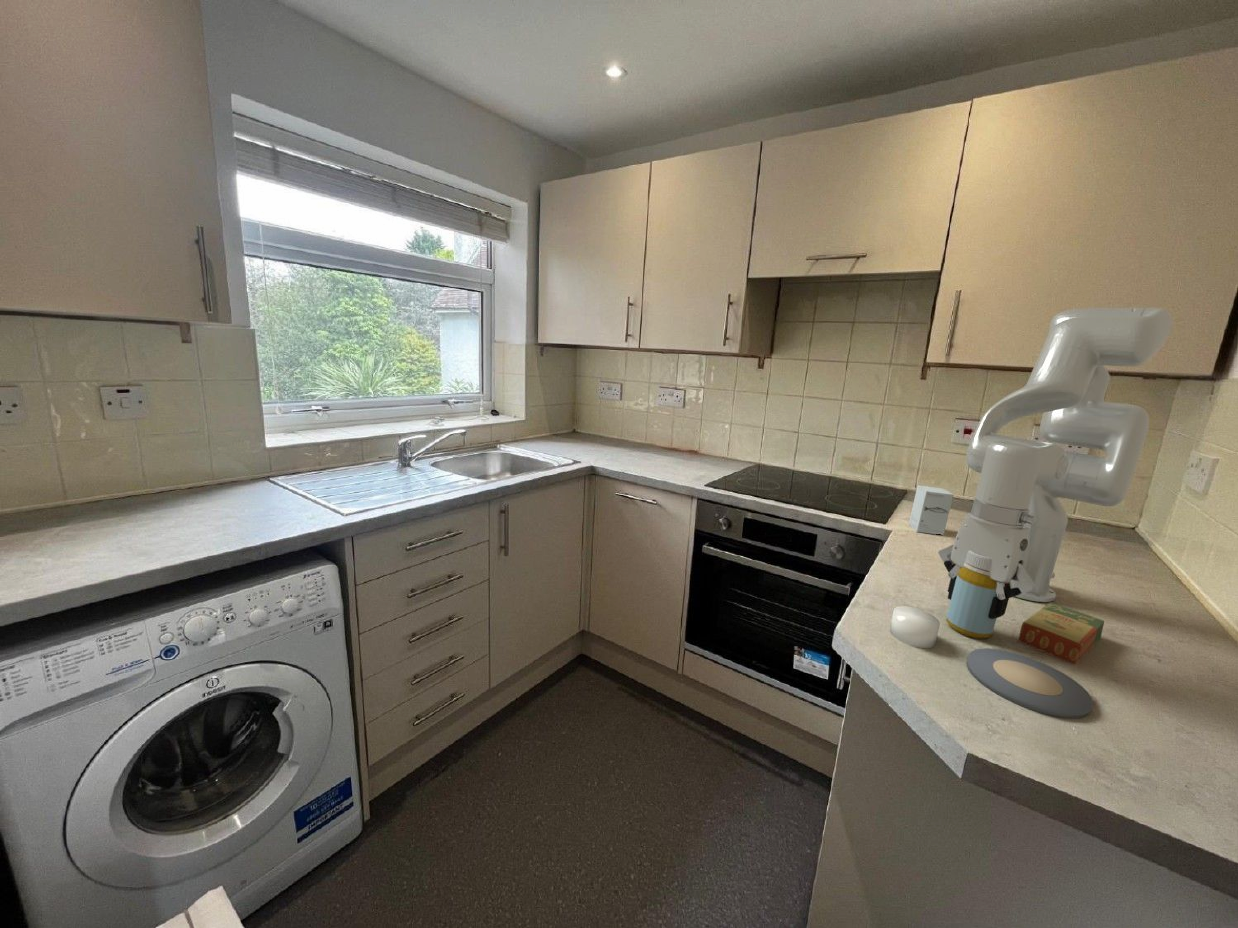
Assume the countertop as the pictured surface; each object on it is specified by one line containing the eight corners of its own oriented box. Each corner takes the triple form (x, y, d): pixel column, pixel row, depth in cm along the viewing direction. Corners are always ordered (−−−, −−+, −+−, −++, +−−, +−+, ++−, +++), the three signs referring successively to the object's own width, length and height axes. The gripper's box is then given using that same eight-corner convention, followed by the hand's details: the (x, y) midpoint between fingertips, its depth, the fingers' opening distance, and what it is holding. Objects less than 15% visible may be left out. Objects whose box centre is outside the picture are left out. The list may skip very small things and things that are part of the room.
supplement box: (916, 532, 145) (925, 490, 142) (908, 524, 152) (916, 484, 149) (944, 536, 143) (954, 494, 140) (934, 528, 150) (944, 487, 147)
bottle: (947, 615, 96) (966, 542, 93) (992, 629, 92) (1013, 554, 88) (942, 628, 91) (962, 552, 87) (989, 645, 86) (1011, 565, 83)
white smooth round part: (905, 623, 92) (910, 603, 91) (943, 644, 86) (949, 623, 85) (880, 629, 89) (884, 609, 88) (917, 652, 83) (923, 630, 82)
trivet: (999, 646, 86) (1000, 640, 86) (1111, 703, 73) (1113, 696, 73) (945, 664, 80) (947, 658, 79) (1058, 729, 67) (1060, 722, 66)
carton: (1015, 642, 89) (1021, 620, 88) (1043, 619, 98) (1049, 599, 97) (1076, 667, 82) (1083, 643, 82) (1100, 640, 92) (1106, 619, 91)
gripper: (1070, 528, 80) (1040, 628, 84) (960, 497, 95) (939, 583, 99) (1045, 532, 77) (1015, 636, 81) (935, 499, 92) (915, 588, 96)
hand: (973, 606), depth 90 cm, fingers closed on bottle, 6 cm apart
